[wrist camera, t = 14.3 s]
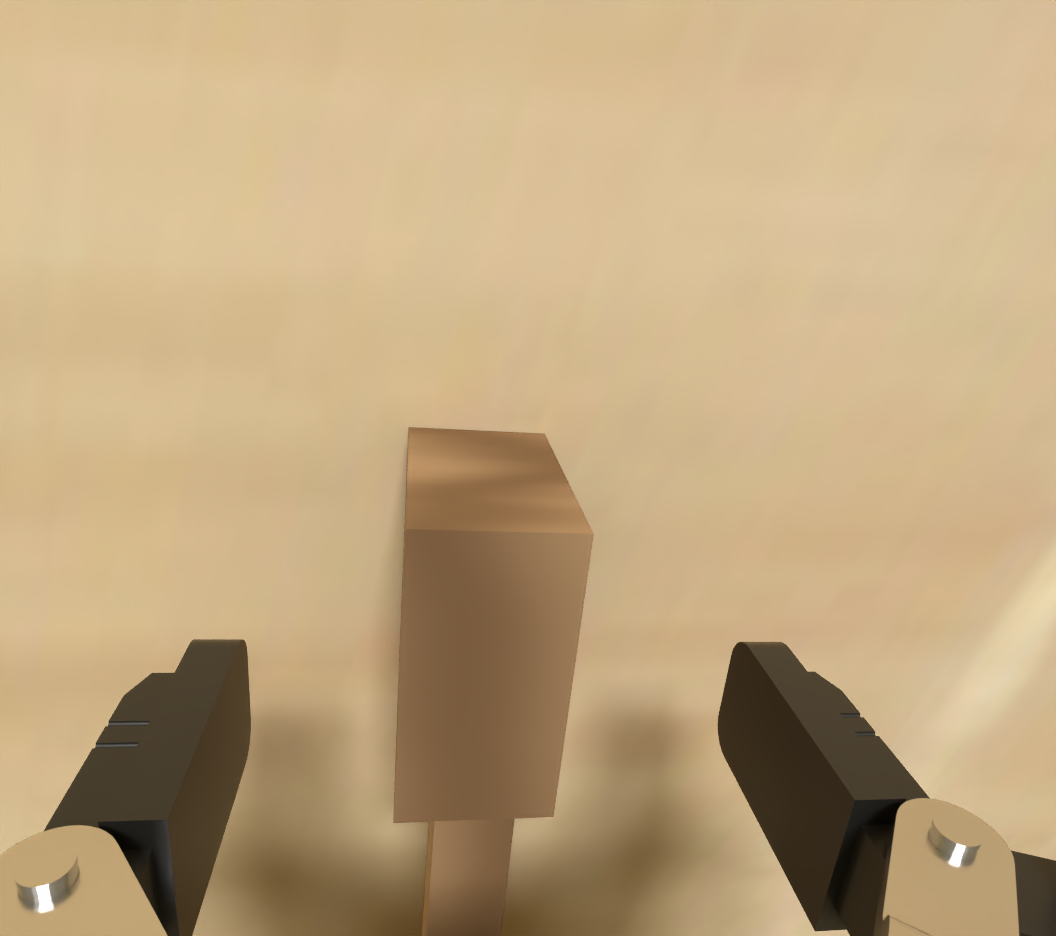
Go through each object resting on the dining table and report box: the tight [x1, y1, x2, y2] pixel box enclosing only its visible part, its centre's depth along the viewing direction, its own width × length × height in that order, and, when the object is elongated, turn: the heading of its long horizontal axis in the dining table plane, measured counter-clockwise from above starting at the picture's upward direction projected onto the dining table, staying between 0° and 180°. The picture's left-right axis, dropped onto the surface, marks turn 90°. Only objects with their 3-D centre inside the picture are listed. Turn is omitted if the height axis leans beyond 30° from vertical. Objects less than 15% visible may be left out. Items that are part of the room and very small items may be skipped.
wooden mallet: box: [393, 427, 593, 936], centre depth 18 cm, size 7×22×5 cm, turn 175°
